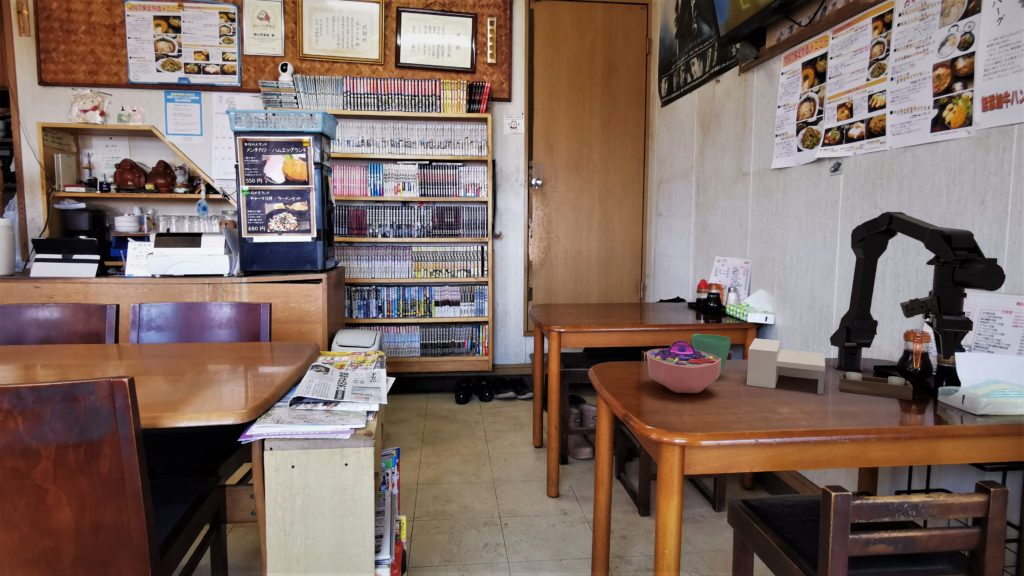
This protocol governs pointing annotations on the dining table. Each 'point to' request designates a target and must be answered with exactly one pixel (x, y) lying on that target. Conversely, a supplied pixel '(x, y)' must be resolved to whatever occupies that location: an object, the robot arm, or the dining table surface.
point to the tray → (875, 386)
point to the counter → (782, 364)
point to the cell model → (683, 367)
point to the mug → (712, 345)
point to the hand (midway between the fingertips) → (942, 356)
